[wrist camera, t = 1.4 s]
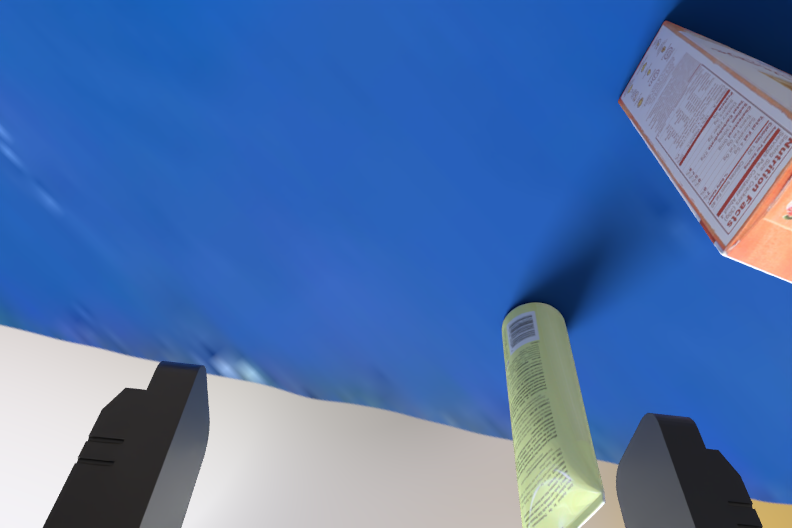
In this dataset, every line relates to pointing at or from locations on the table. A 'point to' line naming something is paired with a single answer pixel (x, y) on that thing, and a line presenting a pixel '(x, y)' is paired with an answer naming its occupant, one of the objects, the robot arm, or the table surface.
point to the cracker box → (721, 141)
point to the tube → (548, 422)
